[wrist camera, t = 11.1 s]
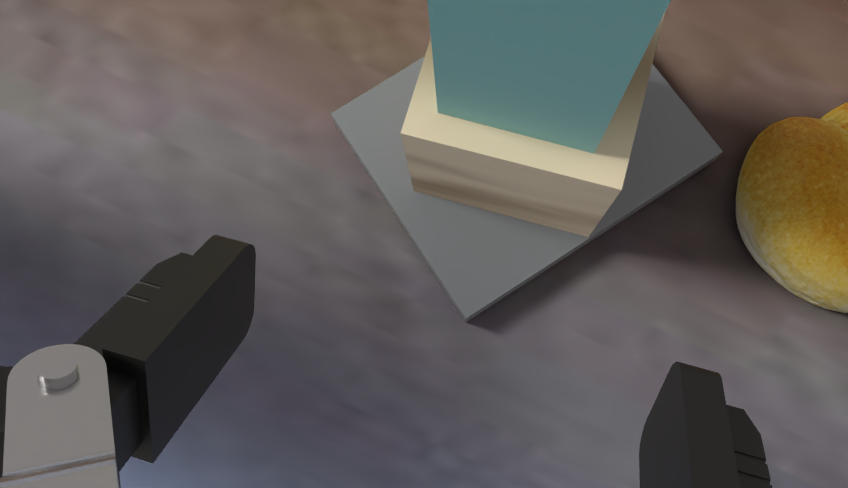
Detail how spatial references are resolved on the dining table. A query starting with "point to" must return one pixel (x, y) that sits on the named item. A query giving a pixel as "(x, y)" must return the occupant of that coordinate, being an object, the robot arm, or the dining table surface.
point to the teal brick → (539, 63)
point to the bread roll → (799, 206)
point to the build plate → (500, 234)
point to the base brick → (521, 159)
